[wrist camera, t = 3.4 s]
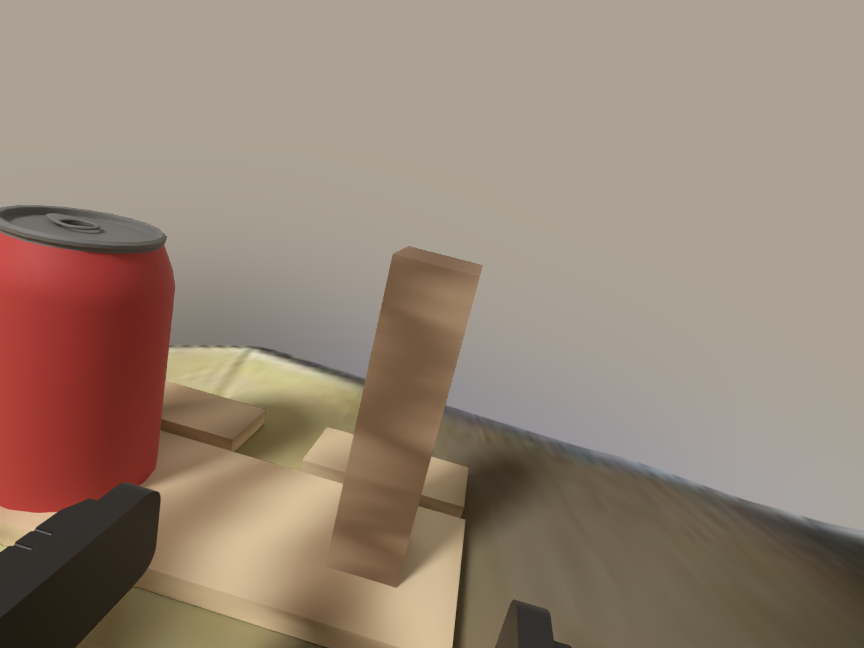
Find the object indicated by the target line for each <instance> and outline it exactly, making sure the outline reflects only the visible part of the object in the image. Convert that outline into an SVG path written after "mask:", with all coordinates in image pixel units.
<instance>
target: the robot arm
mask: <svg viewBox="0 0 864 648" xmlns="http://www.w3.org/2000/svg"><path fill="white" fill-rule="evenodd" d="M160 503H161V496H160V493H159V492H158V491H155V490H152V489H148V488H145V487H142V486H138V485H135V484H132V483H128V482H123V483H120V484H119V485H117V486H116V487H114V488H113V489H112V490H110V491H109V492H108V493H106V494H105V495H104V496H102V497H101V498H100V499H98V500H94V499H90V498H89V499H87V500H84V501H82V502H79V503H77V504H74V505H72V506H69V507H67V508H64V509H62V510H60V511H58V512H57V513H55V514H54V515H53V516H51V517H50V518H48V519H47V520H46V521H44V522H43V523H41V524H40V525H38V526H37V527H36V529H35V530H34V531H30V532H29V533H27V534H26V535H24V536H23V537H21V538H20V539H19V540H17V541H16V542H15V544H14V545H13V546H9V547H7V548H6V549H4V550H3V551H2V552H0V648H75V647H76V646H77V645H78V644H79V643H80V642H81V641H82V640H83V639H84V638H85V636H86V635H87V634H88V633H89V632H90V631H91V630H92V629H93V628H94V627H95V626H96V625H97V624H98V623H99V622H100V621H101V620H102V618H103V617H104V616H105V615H106V614H107V613H108V612H109V611H110V610H111V609H112V608H113V607H114V606H115V605H116V604H117V603H118V602H119V600H120V599H121V598H122V597H123V596H124V595H125V594H126V593H127V592H128V591H129V590H130V589H131V588H132V587H133V586H134V585H135V584H136V583H137V581H138V580H139V579H140V578H141V577H142V576H143V574H144V573H145V572H146V570H147V569H148V567H149V565H150V563H151V561H152V559H153V556H154V554H155V550H156V544H157V533H158V523H159V513H160ZM495 648H571V646H569V645H566V644H563V643H559V642H556V641H554V640H553V632H552V624H551V617H550V613H549V611H548V610H547V609H544V608H540V607H537V606H534V605H530V604H527V603H524V602H520V601H517V600H513V601H512V602H511V604H510V607H509V609H508V612H507V615H506V618H505V621H504V624H503V627H502V629H501V632H500V635H499V638H498V641H497V644H496V647H495Z"/></svg>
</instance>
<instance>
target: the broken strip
mask: <svg viewBox="0 0 864 648" xmlns="http://www.w3.org/2000/svg"><path fill="white" fill-rule="evenodd" d="M265 415H266V409H262V408H259V407H255V406H252V405H248V404H245V403H241V402H238V401H234V400H231V399H227V398H224V397H220V396H217V395H213V394H210V393H206V392H203V391H199V390H196V389H192V388H189V387H185V386H182V385H178V384H175V383H171V382H168V381H165V389H164V399H163V409H162V418H161V428H160V430H161V431H164V432H168V433H171V434H175V435H178V436H181V437H185V438H188V439H192V440H195V441H198V442H202V443H205V444H209V445H212V446H216V447H219V448H222V449H226V450H229V451H233V452H235V451H236V450H237V449H238V448H239V447H240V446H241V445H242V444H243V443H244V442H245V441H246V440H247V439H249V438H250V437H251V436H252V435H253V434H254V433H255V432H256V431H257V430H258V429H259V428H260V427H261V426H262V425H263V424H264V421H265ZM353 436H354V435H353V434H350V433H346V432H343V431H339V430H336V429H332V428H329V427H327V428H326V429H325V431H324V432H323V433H322V435H321V436H320V437H319V439H318V440H317V441H316V443H315V444H314V445H313V447H312V448H311V449H310V451H309V452H308V453H307V454H306V456H305V457H304V458H303V460H302V464H301V470H300V471H301V472H304V473H308V474H311V475H314V476H318V477H321V478H325V479H328V480H331V481H335V482H338V483H342V484H343V482H344V478H345V473H346V468H347V464H348V459H349V454H350V450H351V445H352V441H353ZM468 468H469V467H465V466H462V465H458V464H455V463H451V462H448V461H444V460H441V459H437V458H434V457H431V460H430V464H429V468H428V471H427V475H426V479H425V483H424V486H423V490H422V494H421V498H420V501H419V505H418V506H420V507H423V508H427V509H430V510H434V511H437V512H441V513H444V514H447V515H451V516H454V517H458V518H461V516H462V513H463V509H464V504H465V495H466V486H467V477H468Z"/></svg>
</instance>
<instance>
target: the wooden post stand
mask: <svg viewBox="0 0 864 648" xmlns="http://www.w3.org/2000/svg"><path fill="white" fill-rule="evenodd" d="M481 269H482V265H479V264H476V263H471V262H468V261H464V260H460V259H456V258H452V257H449V256H445V255H441V254H437V253H433V252H429V251H425V250H421V249H417V248H413V247H410V246H408V247H406V248H404V249H402V250H400V251H398V252H396V253H394V254H393V256H392V261H391V265H390V269H389V274H388V279H387V283H386V288H385V293H384V297H383V302H382V307H381V311H380V316H379V321H378V325H377V330H376V335H375V339H374V343H373V348H372V353H371V357H370V362H369V367H368V371H367V376H366V380H365V385H364V390H363V394H362V399H361V404H360V408H359V413H358V417H357V422H356V427H355V431H354V436H353V441H352V445H351V450H350V454H349V459H348V464H347V468H346V473H345V478H344V482H343V484H342V483H338V482H335V481H331V480H328V479H325V478H321V477H318V476H314V475H311V474H308V473H304V472H301V471H297V470H294V469H291V468H287V467H284V466H280V465H277V464H273V463H270V462H267V461H263V460H260V459H256V458H253V457H250V456H246V455H243V454H239V453H236V452H233V451H229V450H226V449H222V448H219V447H216V446H212V445H209V444H205V443H202V442H198V441H195V440H192V439H188V438H185V437H181V436H178V435H175V434H171V433H168V432H164V431H161V430H160V438H159V448H158V457H157V462H156V468H155V469H154V471H153V472H152V473H151V475H150V476H149V477H148V478H147V480H146V481H145V482H143V483H142V484H141V485H139V486H142V487H145V488H148V489H152V490H155V491H158V492H159V493H160V496H161V503H160V513H159V523H158V533H157V544H156V550H155V554H154V556H153V559H152V561H151V563H150V565H149V567H148V569H147V570H146V572H145V573H144V574H143V576H142V577H141V578H140V579H139V580H138V581H137V583H136V584H135V585H134V586H135V587H138V588H141V589H144V590H147V591H151V592H154V593H157V594H160V595H163V596H166V597H169V598H173V599H176V600H179V601H182V602H185V603H188V604H191V605H195V606H198V607H201V608H204V609H207V610H210V611H214V612H217V613H220V614H223V615H226V616H229V617H232V618H236V619H239V620H242V621H245V622H248V623H251V624H254V625H258V626H261V627H264V628H267V629H270V630H273V631H277V632H280V633H283V634H286V635H289V636H292V637H295V638H299V639H302V640H305V641H308V642H311V643H314V644H317V645H321V646H324V647H327V648H452V645H453V636H454V626H455V616H456V607H457V597H458V587H459V577H460V568H461V558H462V548H463V539H464V529H465V520H464V519H461V518H458V517H454V516H451V515H447V514H444V513H441V512H437V511H434V510H430V509H427V508H423V507H420V506H418V505H419V501H420V498H421V494H422V490H423V486H424V483H425V479H426V475H427V471H428V468H429V464H430V460H431V456H432V453H433V449H434V445H435V442H436V438H437V434H438V430H439V427H440V423H441V419H442V415H443V412H444V408H445V404H446V401H447V397H448V393H449V389H450V386H451V382H452V378H453V374H454V371H455V367H456V363H457V359H458V356H459V352H460V348H461V345H462V341H463V337H464V333H465V329H466V325H467V322H468V318H469V315H470V311H471V307H472V303H473V300H474V296H475V292H476V288H477V285H478V281H479V277H480V273H481ZM55 513H57V512H48V513H33V512H25V511H17V510H9V509H6V508H4V507H1V506H0V544H2V545H6V546H13V545H14V544H15V542H16V541H17V540H19V539H20V538H21V537H23V536H24V535H26V534H27V533H29V532H30V531H34V530H35V529H36V527H37V526H38V525H40V524H41V523H43V522H44V521H46V520H47V519H48V518H50V517H51V516H53V515H54V514H55Z"/></svg>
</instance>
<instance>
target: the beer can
mask: <svg viewBox="0 0 864 648" xmlns="http://www.w3.org/2000/svg"><path fill="white" fill-rule="evenodd" d="M166 238H167V236H165V234H164V233H163V232H162V231H160V230H159V229H158V228H156V227H154V226H151V225H149V224H147V223H144V222H140V221H137V220H134V219H131V218H127V217H122V216H117V215H113V214H108V213H102V212H97V211H90V210H83V209H76V208H67V207H56V206H41V205H17V206H8V207H1V208H0V506H1V507H4V508H6V509H9V510H17V511H25V512H33V513H48V512H58V511H60V510H62V509H64V508H67V507H69V506H72V505H74V504H77V503H79V502H82V501H84V500H87V499H89V498H90V499H94V500H98V499H100V498H101V497H102V496H104V495H105V494H106V493H108V492H109V491H110V490H112V489H113V488H114V487H116V486H117V485H119V484H120V483H123V482H128V483H132V484H135V485H138V486H139V485H141V484H142V483H143V482H145V481H146V480H147V478H148V477H149V476H150V475H151V473H152V472H153V471H154V469H155V468H156V462H157V457H158V448H159V438H160V428H161V418H162V409H163V399H164V389H165V380H166V370H167V360H168V351H169V341H170V331H171V321H172V312H173V301H174V292H175V282H174V275H173V270H172V267H171V264H170V261H169V257H168V255H167V252H166V249H165V246H164V244H165V242H166Z"/></svg>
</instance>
